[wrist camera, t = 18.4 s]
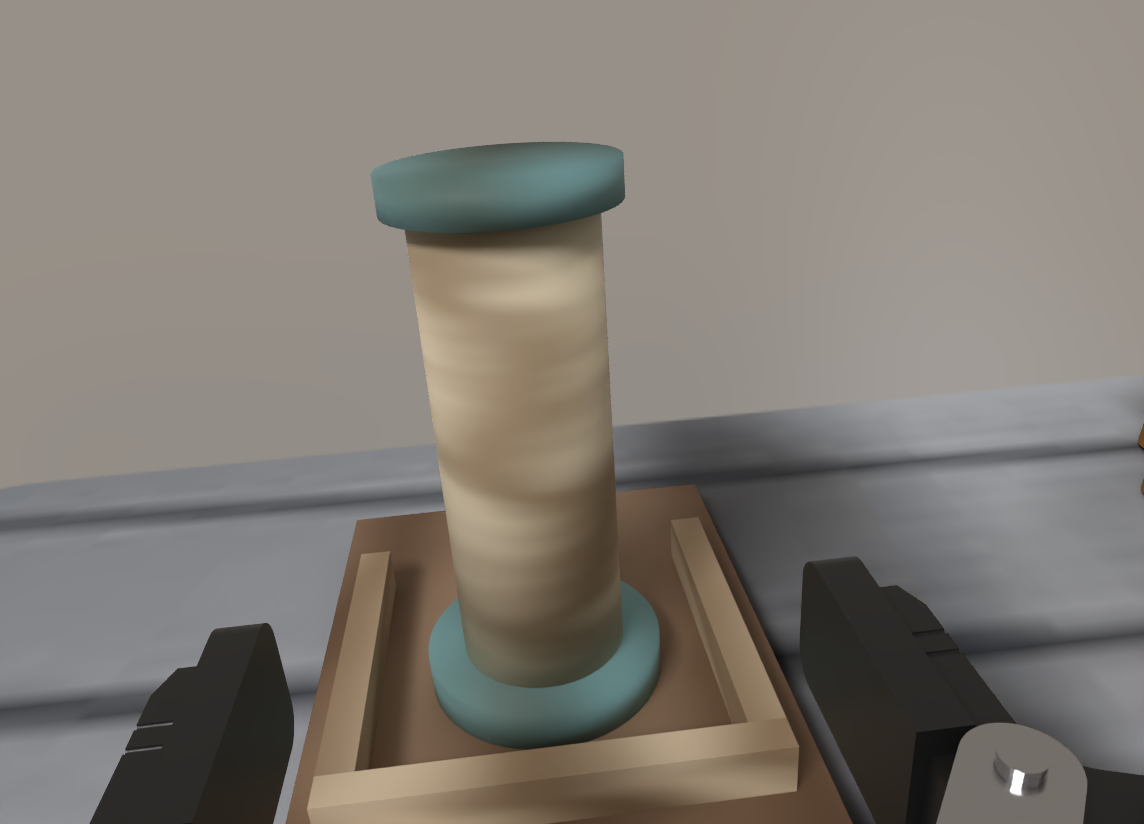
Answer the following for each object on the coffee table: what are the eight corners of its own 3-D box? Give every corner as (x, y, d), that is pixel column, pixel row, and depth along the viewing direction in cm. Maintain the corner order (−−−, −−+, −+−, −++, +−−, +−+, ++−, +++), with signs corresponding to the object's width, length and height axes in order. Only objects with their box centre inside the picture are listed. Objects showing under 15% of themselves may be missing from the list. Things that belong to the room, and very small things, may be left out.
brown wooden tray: (695, 508, 38) (694, 451, 36) (899, 970, 19) (910, 886, 18) (361, 545, 37) (350, 488, 36) (249, 1063, 19) (220, 980, 17)
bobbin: (639, 585, 31) (620, 131, 25) (681, 733, 25) (671, 172, 18) (438, 608, 30) (366, 152, 24) (428, 765, 24) (327, 202, 18)
